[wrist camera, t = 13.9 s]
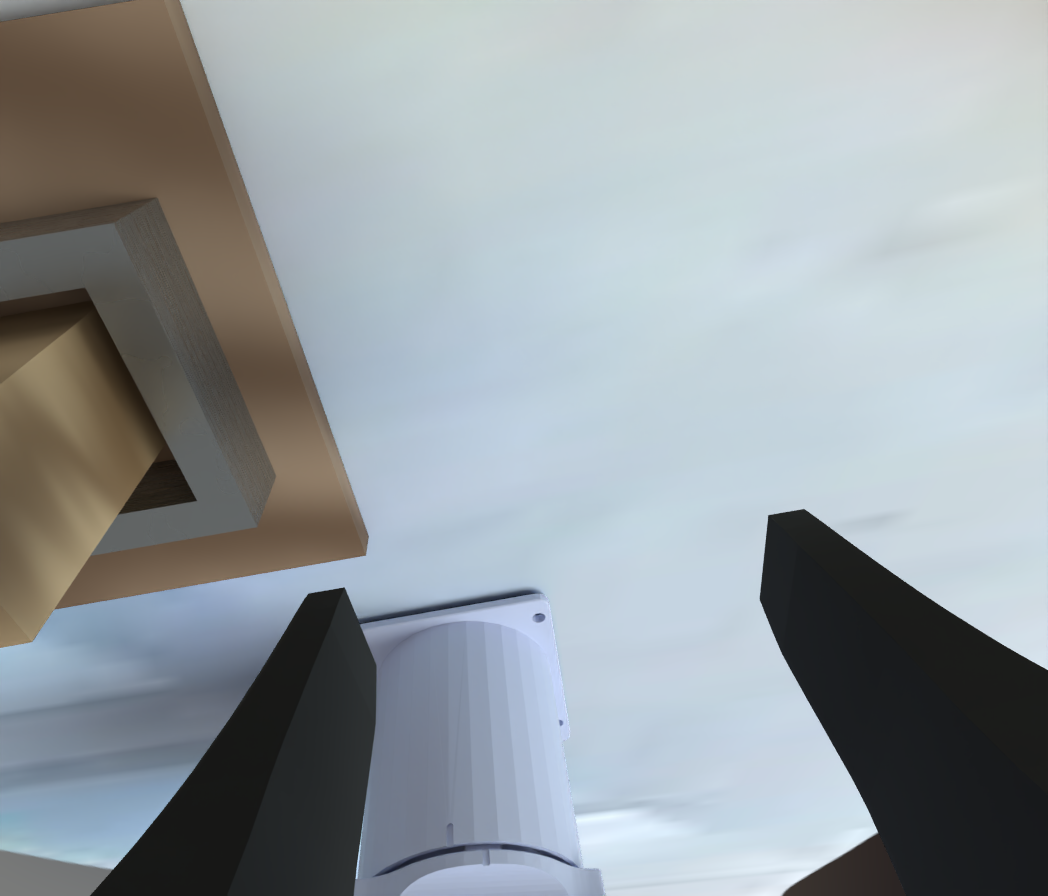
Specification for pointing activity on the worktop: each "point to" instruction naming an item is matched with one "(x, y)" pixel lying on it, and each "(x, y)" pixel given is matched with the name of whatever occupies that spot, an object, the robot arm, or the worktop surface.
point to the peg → (62, 455)
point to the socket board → (166, 298)
